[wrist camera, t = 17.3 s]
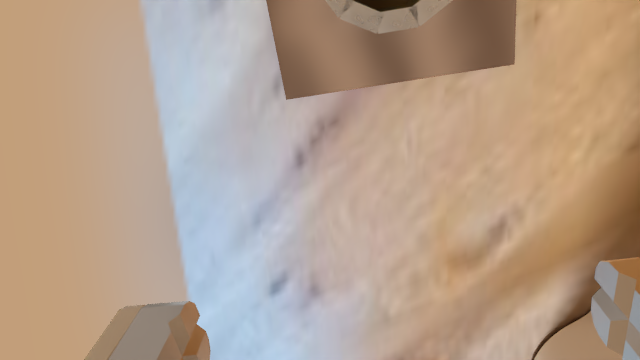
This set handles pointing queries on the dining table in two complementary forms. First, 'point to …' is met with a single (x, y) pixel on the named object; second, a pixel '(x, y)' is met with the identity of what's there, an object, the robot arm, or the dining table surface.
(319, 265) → the dining table surface
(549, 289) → the dining table surface
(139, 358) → the robot arm
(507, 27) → the holder board
